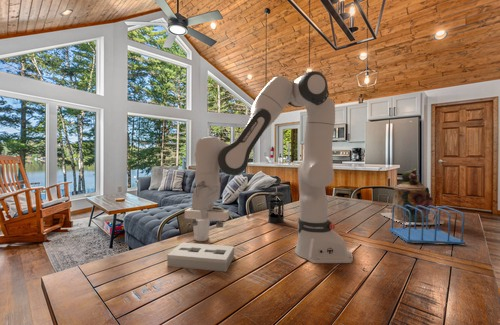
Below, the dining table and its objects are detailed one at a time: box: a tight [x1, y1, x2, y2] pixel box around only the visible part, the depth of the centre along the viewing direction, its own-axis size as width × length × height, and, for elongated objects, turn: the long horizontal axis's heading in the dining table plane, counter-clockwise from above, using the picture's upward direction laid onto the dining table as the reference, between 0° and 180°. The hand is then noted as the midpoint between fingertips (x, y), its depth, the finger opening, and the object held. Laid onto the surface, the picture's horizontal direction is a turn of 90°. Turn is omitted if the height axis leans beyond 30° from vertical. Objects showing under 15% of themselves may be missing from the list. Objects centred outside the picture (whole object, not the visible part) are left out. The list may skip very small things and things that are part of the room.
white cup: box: [192, 219, 211, 242], centre depth 116 cm, size 8×8×10 cm
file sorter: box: [389, 204, 466, 245], centre depth 119 cm, size 25×17×15 cm
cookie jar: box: [380, 168, 445, 226], centre depth 149 cm, size 25×25×32 cm
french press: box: [268, 182, 285, 225], centre depth 145 cm, size 12×9×23 cm
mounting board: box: [166, 242, 235, 272], centre depth 92 cm, size 22×12×4 cm, turn 80°
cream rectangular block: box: [184, 207, 230, 228], centre depth 91 cm, size 16×4×6 cm, turn 80°
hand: (207, 216), depth 91 cm, fingers closed on cream rectangular block, 4 cm apart
